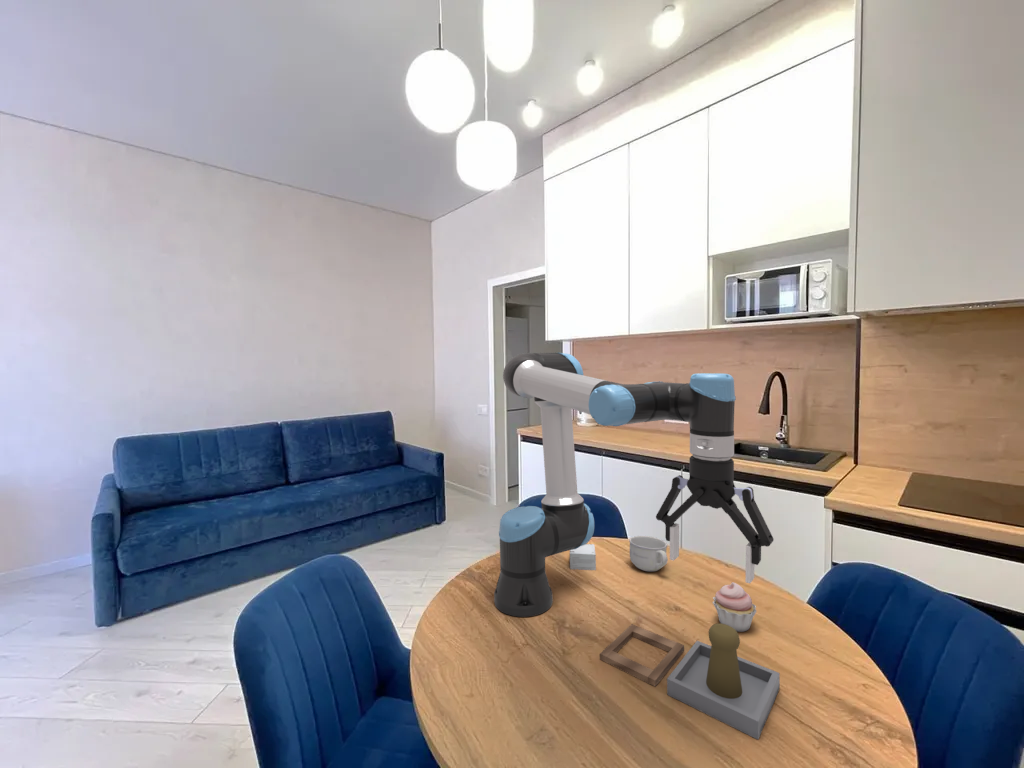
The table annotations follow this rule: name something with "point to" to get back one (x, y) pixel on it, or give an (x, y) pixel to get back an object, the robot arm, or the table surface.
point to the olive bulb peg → (724, 662)
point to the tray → (737, 712)
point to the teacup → (648, 552)
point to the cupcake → (734, 607)
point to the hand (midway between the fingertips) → (710, 568)
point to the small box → (583, 558)
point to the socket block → (636, 668)
